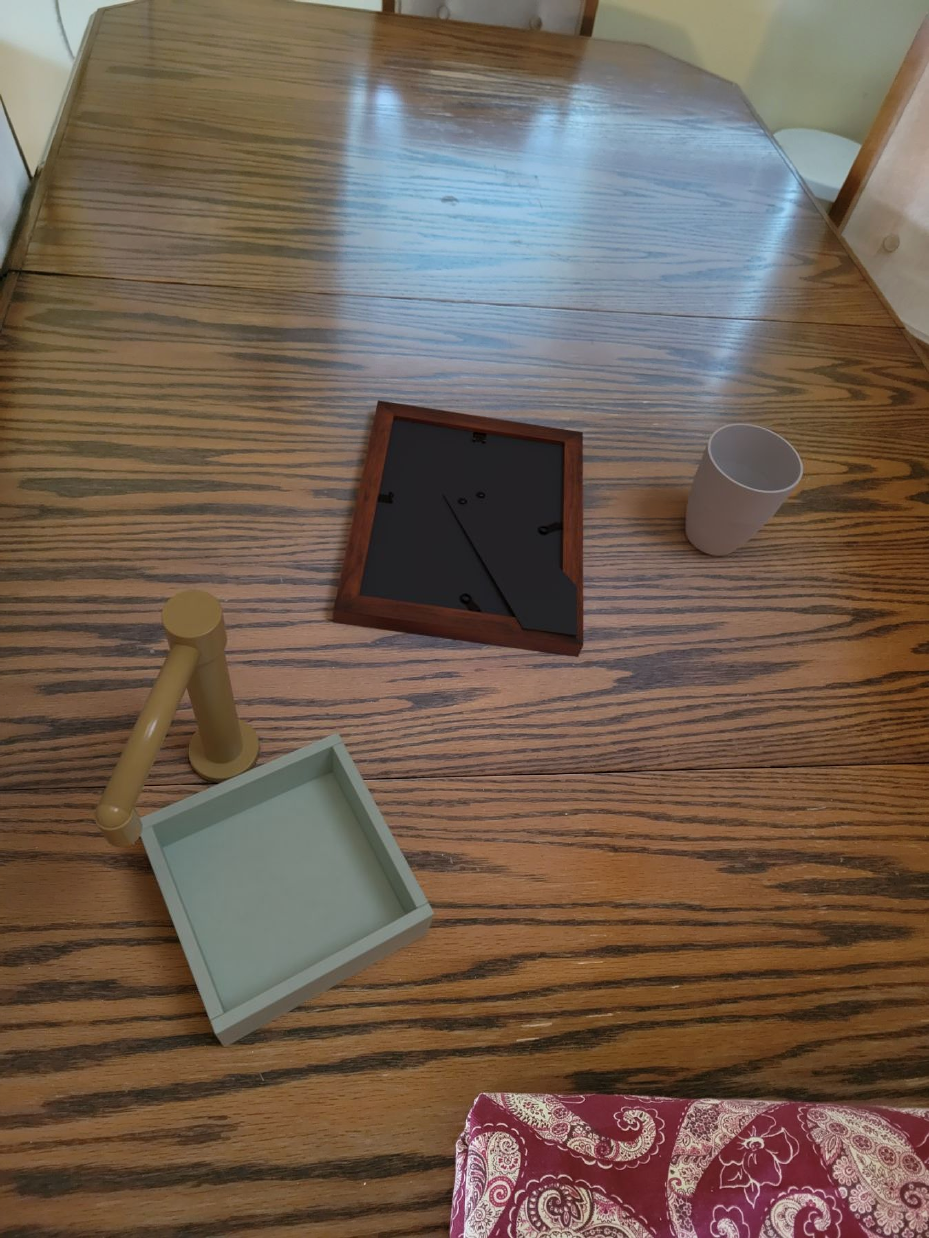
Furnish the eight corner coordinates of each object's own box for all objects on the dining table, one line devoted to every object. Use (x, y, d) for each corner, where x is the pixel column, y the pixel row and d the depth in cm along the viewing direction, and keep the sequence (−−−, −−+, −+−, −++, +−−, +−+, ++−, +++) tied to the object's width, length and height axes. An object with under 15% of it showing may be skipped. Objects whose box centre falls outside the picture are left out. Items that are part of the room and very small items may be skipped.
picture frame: (578, 656, 68) (578, 445, 82) (584, 643, 66) (583, 430, 81) (333, 622, 67) (377, 414, 81) (333, 607, 65) (378, 398, 80)
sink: (427, 933, 54) (434, 913, 50) (224, 1047, 49) (215, 1034, 45) (337, 761, 60) (337, 731, 56) (147, 846, 55) (134, 819, 51)
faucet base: (238, 793, 58) (215, 692, 46) (176, 767, 58) (138, 661, 47) (271, 736, 60) (257, 627, 49) (211, 712, 61) (183, 599, 49)
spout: (184, 624, 49) (174, 584, 46) (237, 636, 49) (230, 596, 46) (85, 840, 42) (64, 809, 38) (147, 853, 42) (132, 824, 38)
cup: (766, 567, 76) (818, 491, 68) (684, 571, 75) (727, 494, 66) (736, 501, 81) (781, 422, 73) (658, 503, 79) (695, 423, 71)
